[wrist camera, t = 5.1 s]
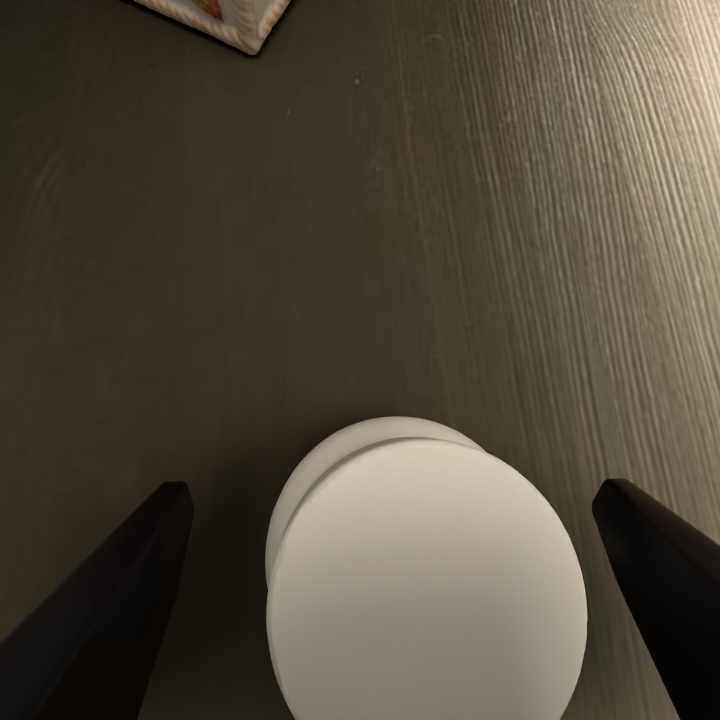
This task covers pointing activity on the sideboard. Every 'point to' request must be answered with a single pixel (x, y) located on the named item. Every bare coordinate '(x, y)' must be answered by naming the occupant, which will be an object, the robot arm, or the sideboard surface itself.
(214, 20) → the decorative jar
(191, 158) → the sideboard surface
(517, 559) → the pill bottle
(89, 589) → the robot arm
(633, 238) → the sideboard surface
